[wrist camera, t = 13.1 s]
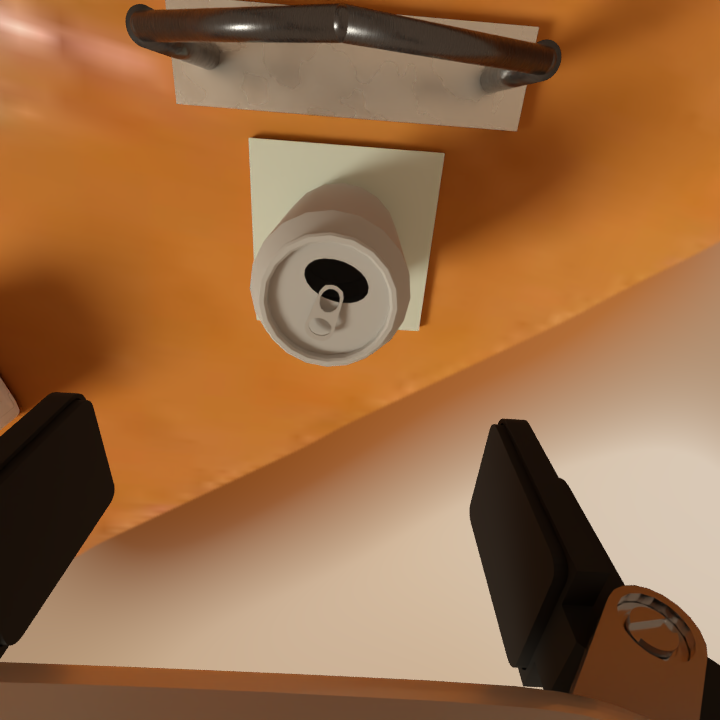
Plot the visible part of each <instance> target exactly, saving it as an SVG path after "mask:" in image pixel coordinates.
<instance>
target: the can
mask: <svg viewBox="0 0 720 720" xmlns="http://www.w3.org/2000/svg"><path fill="white" fill-rule="evenodd" d="M250 290H251V295H252V299H253V304H254V308H255V312H256V314H257V315H258V317H259V319H260V321H261V322H262V324H263V326H264V327H265V329H266V331H267V332H268V333H269V335H270V336H271V338H272V339H273V340H274V341H275V342H276V343H277V344H278V345H279V346H280V347H281V348H282V349H284V350H285V351H286V352H287V353H288V354H290V355H292V356H294V357H296V358H298V359H300V360H302V361H304V362H306V363H311V364H316V365H321V366H326V367H327V366H340V365H348V364H351V363H354V362H356V361H359V360H362V359H364V358H367V357H368V356H369V355H370V354H373V353H374V352H375V351H377V350H378V349H379V348H381V347H382V346H383V345H384V344H386V343H387V342H388V341H390V340H391V339H392V337H393V336H394V334H395V333H396V331H397V330H398V329H399V327H400V326H401V324H402V323H403V321H404V319H405V315H406V312H407V308H408V305H409V302H410V275H409V271H408V267H407V264H406V261H405V257H404V254H403V251H402V247H401V244H400V241H399V237H398V234H397V230H396V228H395V225H394V222H393V220H392V217H391V215H390V212H389V211H388V210H387V208H386V207H385V206H384V205H383V204H382V202H381V201H380V200H379V199H378V197H376V196H374V195H373V194H371V193H370V192H368V191H367V190H365V189H363V188H362V187H358V186H354V185H350V184H346V183H335V184H325V185H322V186H320V187H318V188H316V189H313V190H311V191H309V192H307V193H306V194H305V195H304V196H303V197H302V198H301V199H300V200H299V201H298V202H297V203H296V204H295V205H294V206H293V207H292V208H291V209H290V211H289V212H288V213H287V214H286V215H285V216H284V218H283V219H282V220H281V221H280V222H279V224H278V225H277V226H276V227H275V228H274V230H273V231H272V232H271V233H270V234H269V236H268V237H267V238H266V239H265V240H264V242H263V244H262V246H261V248H260V250H259V252H258V254H257V256H256V258H255V260H254V262H253V266H252V275H251V284H250Z"/></svg>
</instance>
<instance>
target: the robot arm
mask: <svg viewBox="0 0 720 720" xmlns="http://www.w3.org/2000/svg"><path fill="white" fill-rule="evenodd" d="M113 496H114V483H113V479H112V475H111V472H110V468H109V464H108V460H107V457H106V453H105V449H104V445H103V442H102V438H101V434H100V431H99V427H98V423H97V419H96V416H95V412H94V408H93V405H92V403H91V402H90V401H88V400H86V399H85V397H84V396H83V395H82V394H77V393H60V392H54V393H51V394H49V395H48V396H46V397H45V398H44V399H43V400H42V401H41V402H40V403H38V404H37V405H36V406H35V407H34V408H33V409H32V410H30V411H29V412H28V413H27V414H26V415H25V416H23V417H22V418H21V419H20V420H19V421H18V422H17V423H15V424H14V425H13V426H12V427H11V428H10V429H9V430H7V431H6V432H5V433H4V434H3V435H2V436H0V658H1V657H2V655H3V654H4V652H5V651H6V649H7V648H8V646H9V645H13V644H15V643H16V642H18V641H19V639H20V638H21V637H22V636H23V634H24V633H25V631H26V630H27V628H28V626H29V625H30V624H31V622H32V621H33V619H34V618H35V616H36V615H37V613H38V612H39V610H40V609H41V607H42V605H43V604H44V603H45V601H46V599H47V598H48V597H49V595H50V593H51V592H52V590H53V589H54V587H55V586H56V584H57V583H58V581H59V580H60V578H61V577H62V575H63V574H64V572H65V571H66V569H67V568H68V566H69V565H70V563H71V562H72V560H73V559H74V557H75V556H76V554H77V553H78V551H79V550H80V548H81V547H82V545H83V544H84V542H85V541H86V539H87V538H88V536H89V535H90V533H91V532H92V530H93V529H94V527H95V525H96V524H97V522H98V521H99V519H100V518H101V516H102V515H103V513H104V512H105V510H106V509H107V507H108V506H109V504H110V503H111V501H112V499H113ZM470 520H471V525H472V528H473V532H474V535H475V539H476V543H477V547H478V551H479V554H480V558H481V562H482V565H483V569H484V573H485V576H486V580H487V584H488V588H489V591H490V595H491V599H492V602H493V606H494V610H495V613H496V617H497V621H498V624H499V629H500V632H501V636H502V640H503V643H504V647H505V651H506V654H507V658H508V661H509V663H510V665H511V666H512V667H517V668H518V669H519V673H520V676H521V680H522V683H523V686H527V687H543V689H544V690H542V689H533V688H525V687H517V686H502V685H487V684H473V683H458V682H444V681H429V680H428V681H427V680H407V679H387V678H366V677H346V676H345V677H344V676H324V675H303V674H282V673H259V672H258V673H257V672H236V671H213V670H189V669H165V668H141V667H116V666H114V667H113V666H89V665H62V664H61V665H60V664H35V663H34V664H33V663H8V662H7V663H6V662H0V720H720V665H719V664H717V663H716V662H714V661H713V660H711V659H710V658H708V657H707V647H706V643H705V641H704V639H703V636H702V634H701V632H700V630H699V629H698V627H697V626H696V625H695V623H694V622H693V621H692V619H691V618H690V617H689V616H688V615H687V614H686V613H685V612H684V611H683V610H682V609H681V608H680V607H679V606H678V605H676V604H675V603H673V602H672V601H670V600H669V599H668V598H666V597H665V596H663V595H661V594H659V593H657V592H654V591H653V590H650V589H648V588H644V587H639V586H636V585H626V586H625V585H624V583H623V582H622V580H621V578H620V576H619V574H618V573H617V571H616V569H615V567H614V566H613V564H612V562H611V560H610V558H609V557H608V555H607V553H606V551H605V550H604V548H603V546H602V544H601V542H600V541H599V539H598V537H597V535H596V534H595V532H594V530H593V528H592V526H591V525H590V523H589V521H588V520H587V518H586V516H585V514H584V512H583V511H582V509H581V507H580V505H579V503H578V502H577V500H576V498H575V497H574V495H573V493H572V491H571V489H570V488H569V486H568V485H567V483H566V482H565V481H564V480H563V479H561V478H558V476H557V474H556V472H555V470H554V468H553V467H552V465H551V463H550V461H549V459H548V457H547V456H546V454H545V452H544V450H543V449H542V447H541V445H540V443H539V441H538V439H537V438H536V436H535V434H534V432H533V430H532V428H531V427H530V425H529V423H528V422H527V421H526V420H516V419H501V420H500V421H499V423H498V425H496V424H493V425H492V426H491V428H490V431H489V435H488V439H487V442H486V446H485V450H484V454H483V458H482V462H481V465H480V469H479V473H478V477H477V481H476V485H475V489H474V493H473V496H472V500H471V504H470Z"/></svg>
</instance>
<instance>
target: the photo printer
mask: <svg viewBox="0 0 720 720" xmlns="http://www.w3.org/2000/svg"><path fill="white" fill-rule="evenodd" d="M19 412H20V411H19V407H18V405H17V403H16V401H15V399H14V398H13V396H12V394H11V393H10V391H9V390H8V388H7V387H6V385H5V384H4V382H3V381H2V379H1V378H0V430H1V429H2V428H3V427H4V426H6V425H7V424H8V423H9V422H11V421H12V420H13V419H14V418H15V417H16V416H17V415H18V414H19Z"/></svg>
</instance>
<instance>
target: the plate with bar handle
mask: <svg viewBox="0 0 720 720" xmlns="http://www.w3.org/2000/svg"><path fill="white" fill-rule="evenodd" d="M165 2H166V10H154V9H152V8H150V7H148V6H146V5H143V4H137V5H134V6H132V7H131V8H130V9H129V10H128V12H127V15H126V28H127V31H128V34H129V35H130V37H131V39H132V40H133V41H134V42H135V43H136V44H137V45H139V46H141V47H143V48H146V49H149V50H152V51H155V52H158V53H161V54H164V55H166V56H169V57H172V66H173V75H174V84H175V93H176V102H177V104H184V105H196V106H209V107H221V108H233V109H246V110H258V111H270V112H283V113H295V114H307V115H320V116H332V117H344V118H357V119H369V120H382V121H394V122H406V123H419V124H431V125H443V126H456V127H468V128H480V129H493V130H505V131H517V128H518V124H519V119H520V114H521V110H522V105H523V100H524V96H525V91H526V86H527V85H528V84H532V83H536V82H541V81H544V80H547V79H549V78H551V77H552V76H553V75H554V74H555V73H556V71H557V70H558V68H559V66H560V63H561V51H560V48H559V46H558V45H557V43H555V42H554V41H552V40H542V41H539V42H537V43H536V39H537V34H538V30H539V27H533V26H521V25H510V24H499V23H487V22H476V21H464V20H453V19H441V18H430V17H419V16H407V15H396V14H391V13H386V12H381V11H376V10H371V9H367V8H362V7H357V6H352V5H347V4H314V5H282V4H270V3H259V2H247V1H236V0H165Z"/></svg>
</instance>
